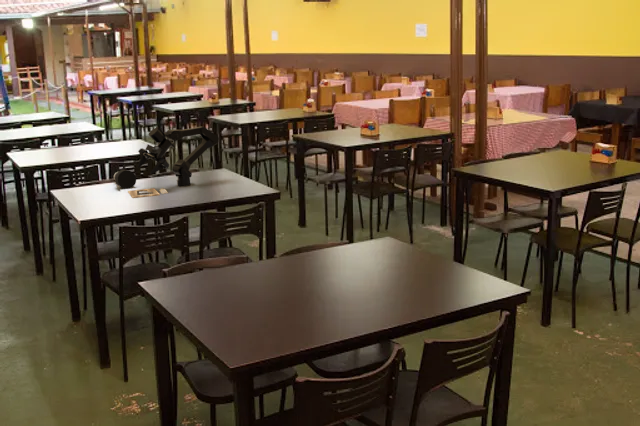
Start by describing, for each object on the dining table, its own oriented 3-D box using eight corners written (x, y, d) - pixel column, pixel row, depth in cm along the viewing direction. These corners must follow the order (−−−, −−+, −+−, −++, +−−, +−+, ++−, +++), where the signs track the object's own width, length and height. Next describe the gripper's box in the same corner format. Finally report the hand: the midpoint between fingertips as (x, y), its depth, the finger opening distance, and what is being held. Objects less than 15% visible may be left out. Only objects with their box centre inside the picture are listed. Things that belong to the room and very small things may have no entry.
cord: (165, 193, 373) (165, 188, 372) (167, 196, 367) (168, 190, 366) (159, 193, 372) (159, 188, 371) (161, 196, 365) (161, 190, 365)
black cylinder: (122, 187, 416) (128, 171, 417) (132, 191, 386) (139, 174, 386) (106, 181, 412) (112, 165, 413) (114, 184, 381) (121, 167, 382)
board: (154, 191, 378) (153, 184, 377) (160, 197, 362) (159, 190, 361) (128, 194, 373) (127, 186, 372) (132, 200, 356) (132, 192, 356)
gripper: (143, 133, 370) (125, 155, 365) (168, 145, 362) (150, 168, 357) (151, 145, 379) (134, 167, 374) (176, 157, 371) (159, 179, 366)
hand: (144, 170), depth 367 cm, fingers open, 9 cm apart
